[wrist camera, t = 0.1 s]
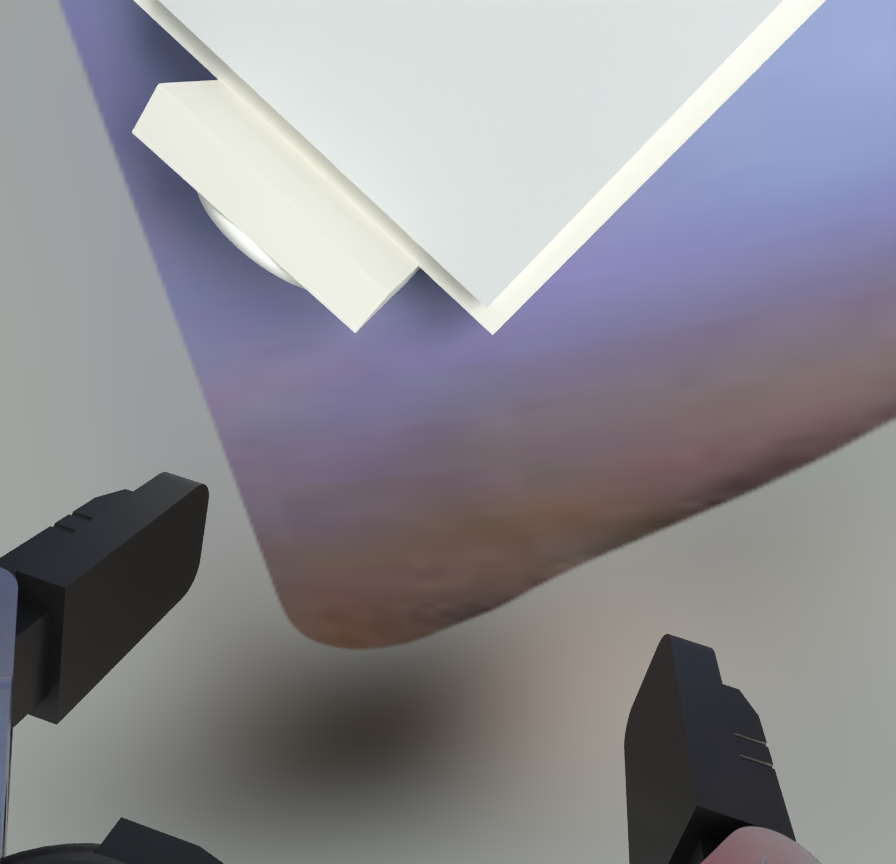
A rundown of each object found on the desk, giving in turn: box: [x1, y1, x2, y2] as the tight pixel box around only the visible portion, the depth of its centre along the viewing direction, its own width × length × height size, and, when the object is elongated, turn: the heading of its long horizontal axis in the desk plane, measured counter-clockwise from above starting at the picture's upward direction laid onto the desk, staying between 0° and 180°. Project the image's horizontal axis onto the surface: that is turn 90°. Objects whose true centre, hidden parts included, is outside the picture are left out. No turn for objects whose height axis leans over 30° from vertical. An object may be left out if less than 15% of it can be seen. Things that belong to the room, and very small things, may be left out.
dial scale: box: [132, 0, 825, 335], centre depth 25 cm, size 21×18×8 cm
